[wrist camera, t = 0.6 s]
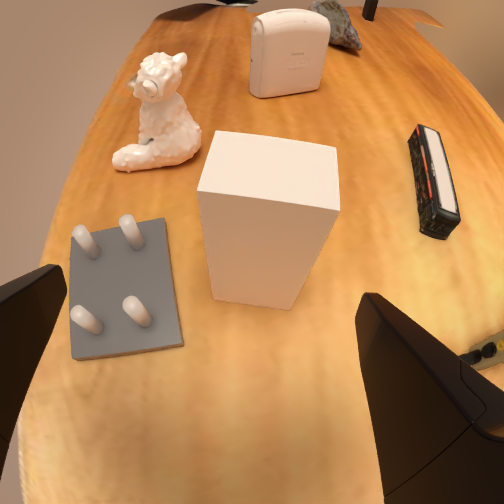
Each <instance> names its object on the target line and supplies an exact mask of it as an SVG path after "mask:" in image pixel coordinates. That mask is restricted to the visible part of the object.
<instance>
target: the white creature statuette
mask: <svg viewBox="0 0 504 504" xmlns="http://www.w3.org/2000/svg"><path fill="white" fill-rule="evenodd" d="M186 64H187V56H186V54H185V53H184V52H183V53H179V54H177V55H175V56H173V57H172V56H169V55H167V54H165V53H164V52H161V53H158V52H156V53H154V54H153V55H150V56H148V57H147V58H145V59H144V60H143V62H142V63H141V64H140V66H141V69H140V70H139V71H138V77H137V79H136V83H135V89H134V92H133V95H134V97H136V98H139V99H140V100H141V101H142V105H141V108H140V111H139V113H140V115H139V116H140V118H139V120H140V127H139V131H140V134H139V140H138V143H139V144H132V145H127V146H126V147H123V148H121V149H120V150H118V151H116V152H115V153H114V154H113V158H112V162H113V166H114V168H115V169H116V170H119V171H127V172H128V173H130V171H133V170H143V169H151V168H157V167H159V168H160V167H162V166H171V165H178V164H181V163H183V162H185V161H186V160H188V159H189V158H192V157H193V155H194V153H196V152H197V151H198V149H199V148H200V146H201V133H202V131H201V130H200V129H199V128H200V127H199V125H198V124H197V123H196V122H195V121H194V120H193V119H192V115H190V114H189V111H187V105H186V104H185V102H184V100H183V97H182V96H180V94H178V93H177V92H175V91H176V89H177V87H178V86H179V84H180V82H181V78H182V74H181V70H180V69H181V68H183V67H184V66H185V65H186Z"/></svg>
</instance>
